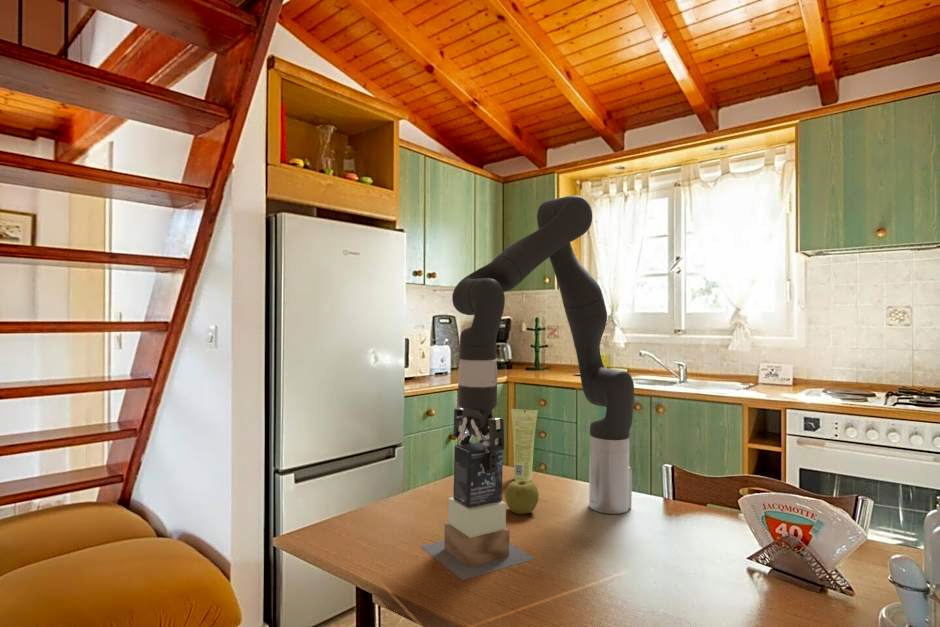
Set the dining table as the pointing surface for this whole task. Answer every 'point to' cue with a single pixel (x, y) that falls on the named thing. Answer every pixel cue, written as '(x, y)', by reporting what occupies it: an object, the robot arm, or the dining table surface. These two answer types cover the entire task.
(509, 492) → the apple
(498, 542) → the block base
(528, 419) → the tube
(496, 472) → the box
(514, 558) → the mat
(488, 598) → the dining table surface
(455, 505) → the block top
